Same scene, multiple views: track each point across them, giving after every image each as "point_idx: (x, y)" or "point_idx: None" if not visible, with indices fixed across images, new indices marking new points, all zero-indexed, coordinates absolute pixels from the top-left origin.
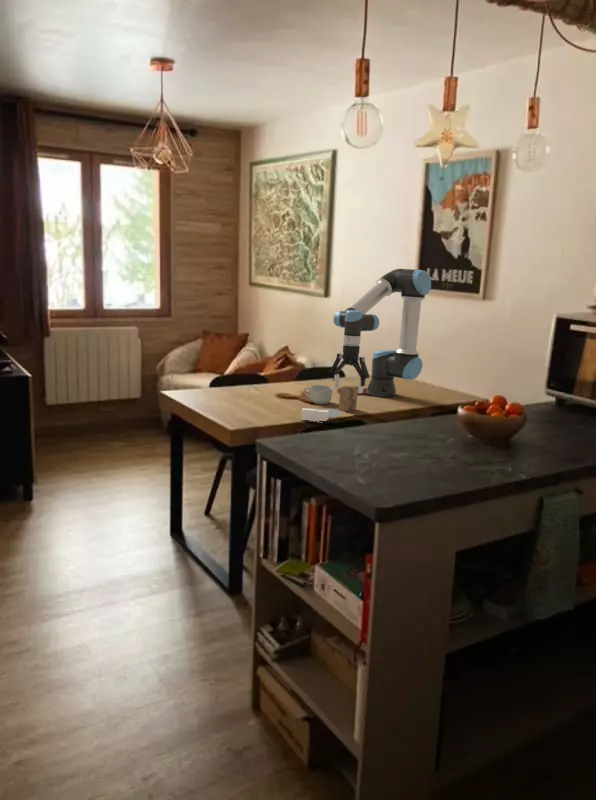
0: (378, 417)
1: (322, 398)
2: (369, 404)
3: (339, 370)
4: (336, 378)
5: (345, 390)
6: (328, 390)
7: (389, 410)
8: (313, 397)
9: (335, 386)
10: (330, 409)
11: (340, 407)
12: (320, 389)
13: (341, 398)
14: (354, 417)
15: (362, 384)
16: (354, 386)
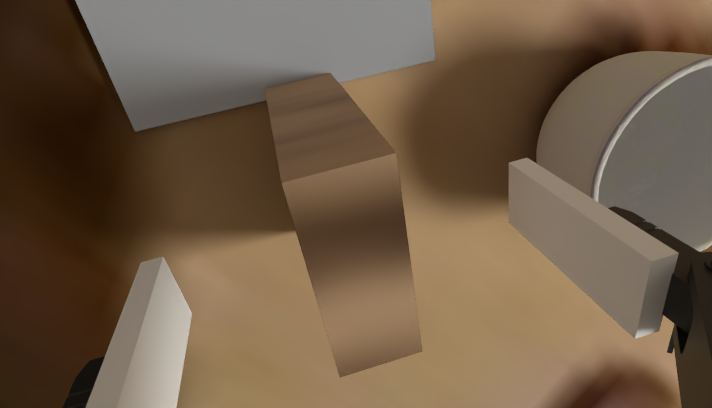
0: (6, 237)
1: (577, 98)
2: (371, 377)
3: (689, 379)
4: (597, 240)
5: (302, 161)
6: (597, 170)
7: (187, 403)
8: (651, 51)
9: (523, 176)
10: (396, 32)
11: (319, 83)
12: (699, 202)
13: (333, 110)
14: (69, 43)
15: (85, 382)
16: (358, 346)
